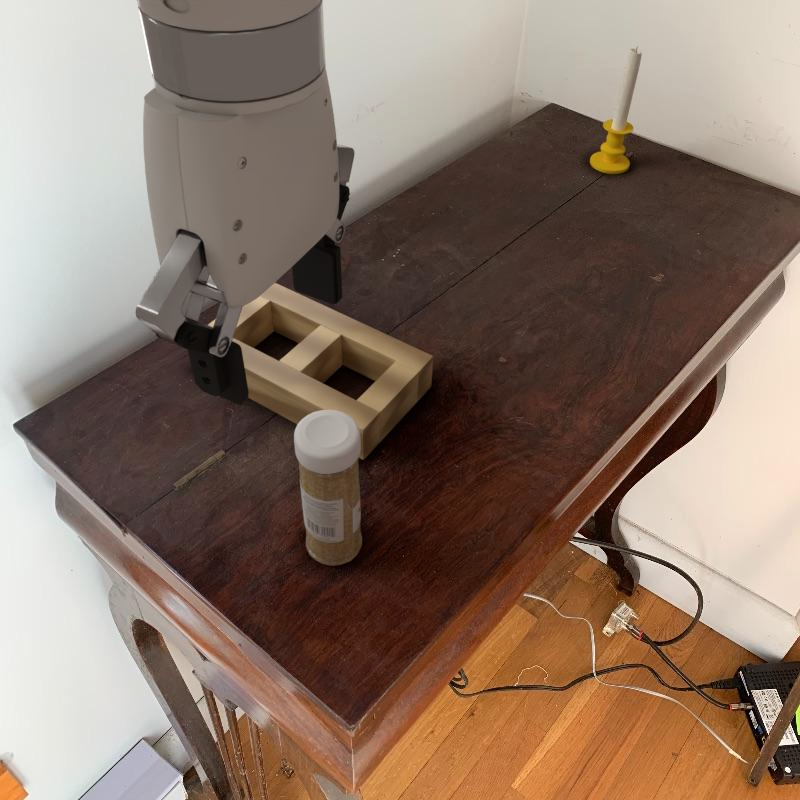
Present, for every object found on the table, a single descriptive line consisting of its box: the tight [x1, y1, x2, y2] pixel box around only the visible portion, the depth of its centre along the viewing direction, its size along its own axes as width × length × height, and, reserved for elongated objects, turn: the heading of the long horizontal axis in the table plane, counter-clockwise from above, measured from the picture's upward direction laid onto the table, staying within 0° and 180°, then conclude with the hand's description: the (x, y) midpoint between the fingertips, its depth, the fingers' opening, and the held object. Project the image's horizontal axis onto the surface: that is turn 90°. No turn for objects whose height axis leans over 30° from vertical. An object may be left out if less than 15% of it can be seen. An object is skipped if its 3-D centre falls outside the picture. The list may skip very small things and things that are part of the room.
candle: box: [589, 45, 643, 175], centre depth 102 cm, size 5×5×16 cm
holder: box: [207, 282, 434, 461], centre depth 76 cm, size 11×20×4 cm, turn 56°
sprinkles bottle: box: [293, 410, 363, 567], centre depth 59 cm, size 5×5×13 cm
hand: (273, 341), depth 47 cm, fingers open, 9 cm apart
